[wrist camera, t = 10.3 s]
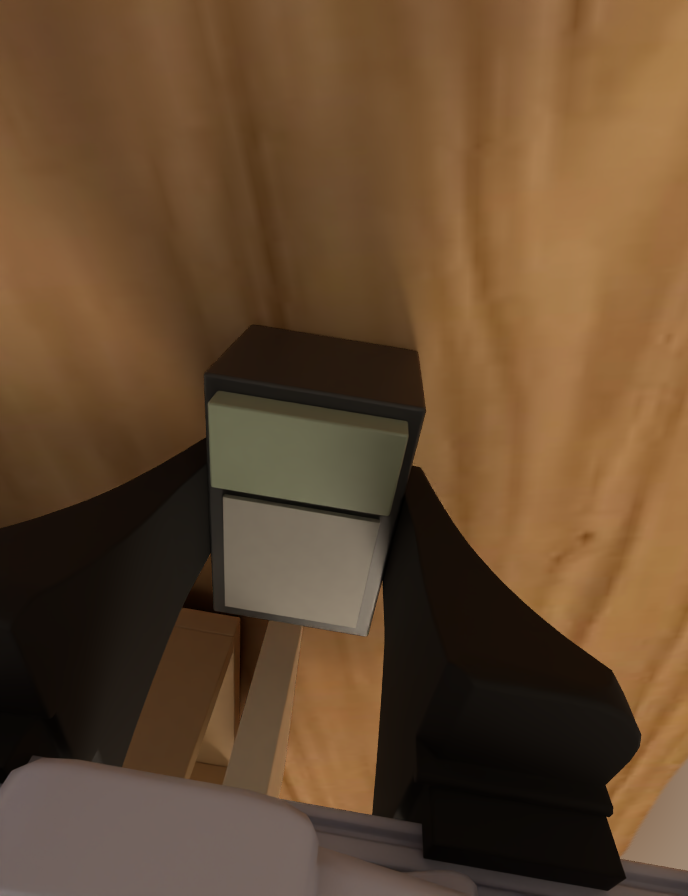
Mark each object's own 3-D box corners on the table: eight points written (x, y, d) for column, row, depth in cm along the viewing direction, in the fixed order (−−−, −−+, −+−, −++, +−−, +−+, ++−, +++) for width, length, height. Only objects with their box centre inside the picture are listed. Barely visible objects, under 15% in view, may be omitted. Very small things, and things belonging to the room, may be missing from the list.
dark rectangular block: (246, 529, 15) (204, 630, 12) (250, 323, 11) (189, 384, 8) (373, 550, 15) (366, 658, 12) (419, 350, 11) (429, 424, 8)
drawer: (450, 638, 16) (476, 859, 11) (389, 783, 22) (387, 965, 17) (-52, 553, 16) (-260, 729, 11) (29, 720, 23) (-80, 881, 17)
